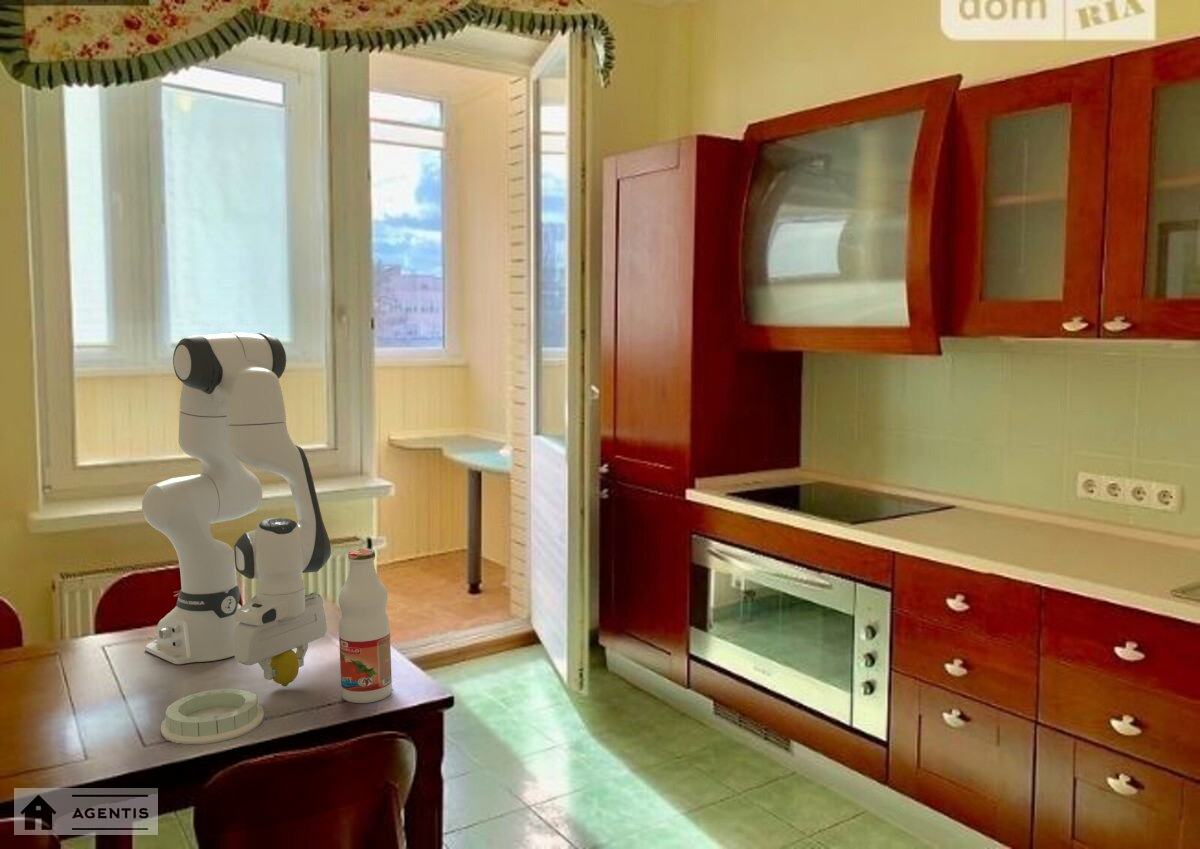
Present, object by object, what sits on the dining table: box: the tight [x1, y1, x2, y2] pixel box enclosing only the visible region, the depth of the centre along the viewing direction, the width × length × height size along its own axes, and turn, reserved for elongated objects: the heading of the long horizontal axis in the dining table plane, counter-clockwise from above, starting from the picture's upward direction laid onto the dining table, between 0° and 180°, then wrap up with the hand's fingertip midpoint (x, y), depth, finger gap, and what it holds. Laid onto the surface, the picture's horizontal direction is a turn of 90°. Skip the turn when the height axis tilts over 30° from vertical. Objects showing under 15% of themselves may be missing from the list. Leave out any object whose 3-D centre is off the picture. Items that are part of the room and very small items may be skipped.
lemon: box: [269, 649, 300, 688], centre depth 188 cm, size 6×6×8 cm
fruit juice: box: [338, 548, 393, 704], centre depth 184 cm, size 9×9×28 cm
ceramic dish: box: [160, 688, 265, 745], centre depth 172 cm, size 17×17×4 cm
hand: (284, 672), depth 188 cm, fingers closed on lemon, 6 cm apart
